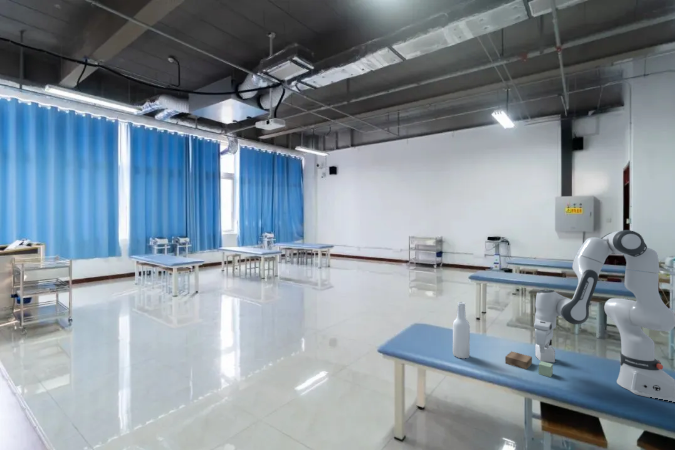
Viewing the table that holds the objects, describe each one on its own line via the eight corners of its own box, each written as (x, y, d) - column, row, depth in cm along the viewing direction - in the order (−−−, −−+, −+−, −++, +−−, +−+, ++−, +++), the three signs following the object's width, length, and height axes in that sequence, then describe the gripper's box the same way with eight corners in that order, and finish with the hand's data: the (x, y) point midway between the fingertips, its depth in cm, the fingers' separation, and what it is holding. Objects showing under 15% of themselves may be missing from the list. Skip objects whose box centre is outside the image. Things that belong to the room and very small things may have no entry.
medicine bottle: (555, 362, 170) (555, 340, 170) (540, 361, 172) (540, 339, 172) (549, 357, 177) (549, 335, 177) (535, 356, 179) (535, 334, 179)
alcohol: (467, 360, 172) (467, 305, 172) (450, 356, 177) (451, 303, 177) (471, 355, 180) (471, 302, 180) (454, 351, 185) (455, 300, 185)
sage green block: (552, 374, 157) (552, 364, 157) (550, 377, 154) (550, 367, 154) (541, 370, 161) (541, 360, 161) (538, 374, 157) (538, 364, 157)
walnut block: (531, 364, 169) (531, 356, 169) (526, 370, 162) (526, 362, 162) (511, 358, 176) (511, 351, 176) (505, 364, 169) (505, 356, 169)
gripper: (542, 317, 167) (541, 343, 167) (532, 324, 153) (532, 353, 153) (557, 320, 163) (556, 347, 163) (548, 328, 148) (547, 357, 148)
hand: (544, 350), depth 158 cm, fingers open, 8 cm apart
